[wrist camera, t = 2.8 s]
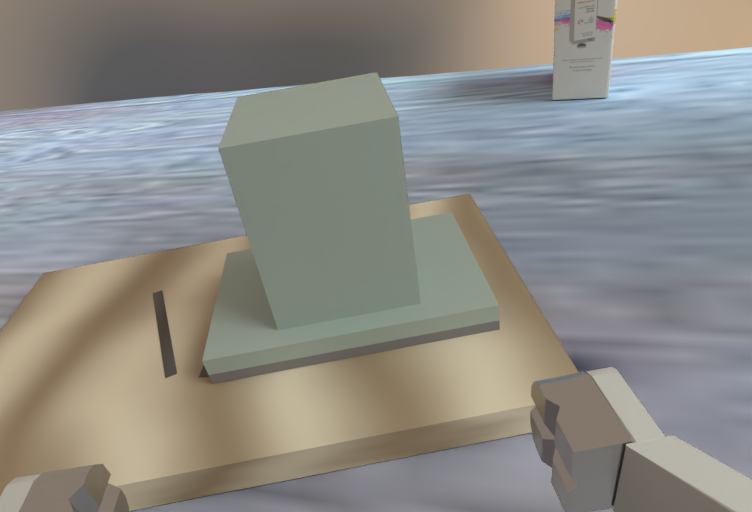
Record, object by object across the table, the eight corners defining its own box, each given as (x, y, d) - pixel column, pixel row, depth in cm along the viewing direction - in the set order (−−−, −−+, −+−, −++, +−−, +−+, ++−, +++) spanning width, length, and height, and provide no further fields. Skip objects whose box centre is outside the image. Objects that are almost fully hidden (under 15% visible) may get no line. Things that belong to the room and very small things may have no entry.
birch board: (470, 215, 32) (469, 193, 32) (588, 421, 19) (591, 392, 18) (55, 293, 32) (43, 272, 31) (-123, 560, 19) (-153, 537, 18)
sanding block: (453, 232, 28) (440, 55, 23) (499, 329, 22) (496, 109, 16) (234, 273, 28) (172, 102, 23) (212, 383, 21) (118, 177, 16)
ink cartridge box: (554, 73, 54) (561, -98, 46) (606, 70, 52) (624, -108, 44) (548, 101, 47) (556, -93, 39) (609, 99, 45) (629, -104, 37)
